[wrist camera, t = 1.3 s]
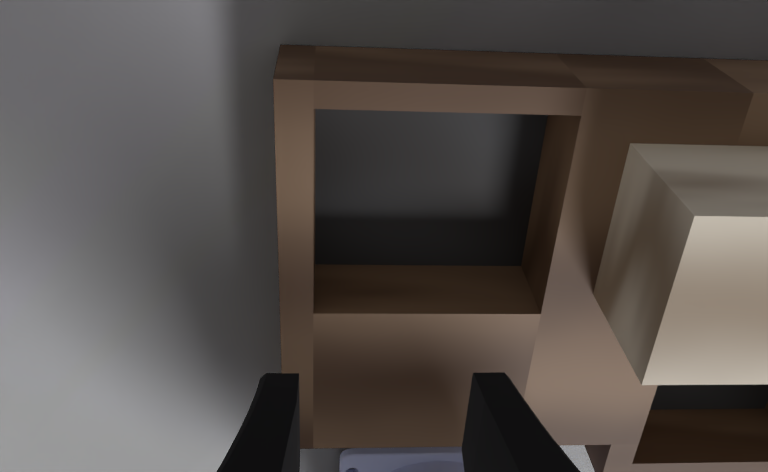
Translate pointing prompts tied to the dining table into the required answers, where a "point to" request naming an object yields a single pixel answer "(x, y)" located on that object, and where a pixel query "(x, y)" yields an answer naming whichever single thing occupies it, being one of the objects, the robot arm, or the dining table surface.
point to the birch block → (690, 264)
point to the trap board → (487, 244)
